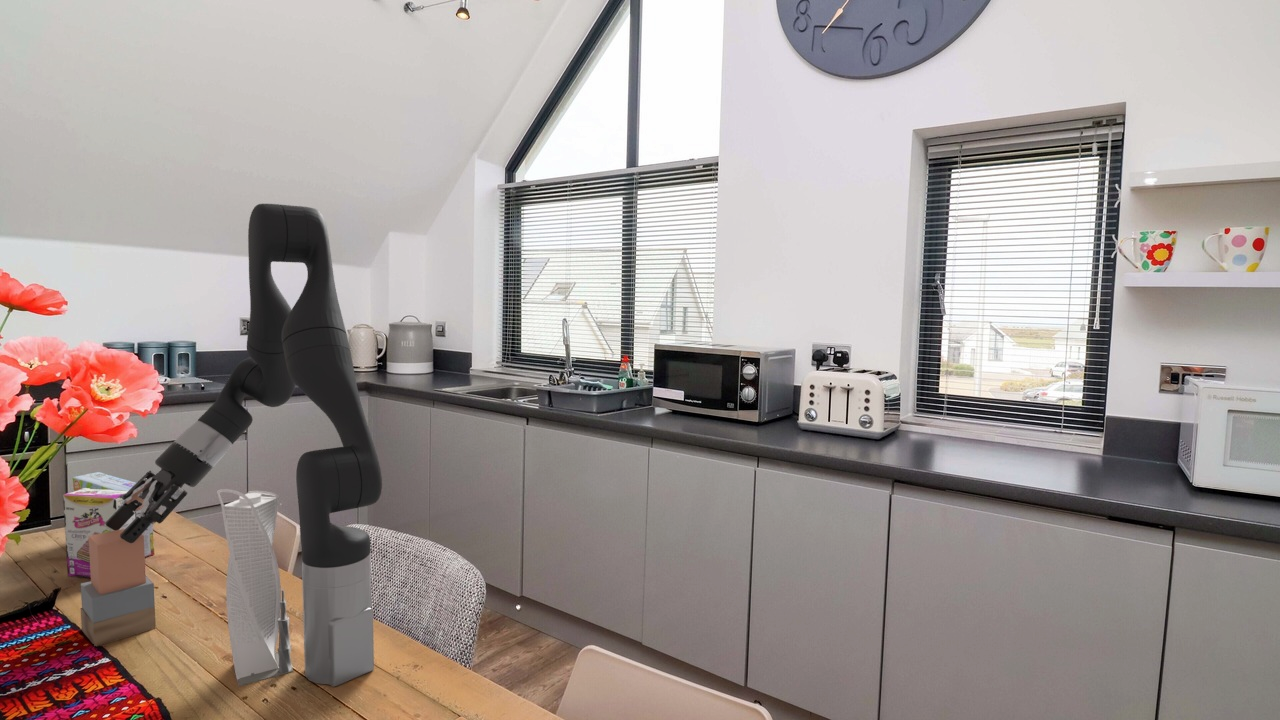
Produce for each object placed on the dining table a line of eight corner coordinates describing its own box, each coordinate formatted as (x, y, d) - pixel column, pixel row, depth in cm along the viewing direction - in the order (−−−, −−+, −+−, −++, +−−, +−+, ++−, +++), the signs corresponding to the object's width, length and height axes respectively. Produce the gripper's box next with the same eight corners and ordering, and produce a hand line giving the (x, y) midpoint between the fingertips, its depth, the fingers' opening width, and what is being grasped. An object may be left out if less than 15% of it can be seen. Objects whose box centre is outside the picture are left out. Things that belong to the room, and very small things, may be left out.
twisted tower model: (226, 691, 96) (219, 496, 93) (221, 666, 102) (214, 483, 100) (293, 673, 101) (288, 487, 98) (284, 649, 107) (279, 475, 105)
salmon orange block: (145, 583, 112) (143, 535, 111) (100, 594, 107) (97, 545, 106) (135, 572, 116) (133, 526, 115) (91, 583, 111) (88, 535, 110)
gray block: (154, 606, 112) (153, 583, 112) (93, 623, 106) (92, 598, 106) (141, 591, 117) (139, 569, 117) (81, 607, 111) (80, 583, 111)
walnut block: (155, 629, 113) (154, 606, 112) (95, 648, 106) (93, 623, 106) (140, 614, 118) (139, 592, 117) (81, 631, 111) (80, 608, 111)
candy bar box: (65, 577, 131) (60, 494, 130) (88, 567, 136) (84, 487, 134) (119, 581, 130) (114, 497, 128) (140, 571, 135) (136, 489, 133)
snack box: (74, 544, 148) (70, 476, 147) (104, 536, 153) (101, 470, 152) (126, 564, 138) (123, 491, 137) (157, 555, 143) (153, 484, 142)
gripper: (163, 434, 121) (84, 512, 113) (191, 446, 112) (108, 532, 104) (198, 459, 125) (125, 535, 118) (228, 472, 116) (151, 556, 109)
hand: (117, 534), depth 111 cm, fingers open, 8 cm apart
